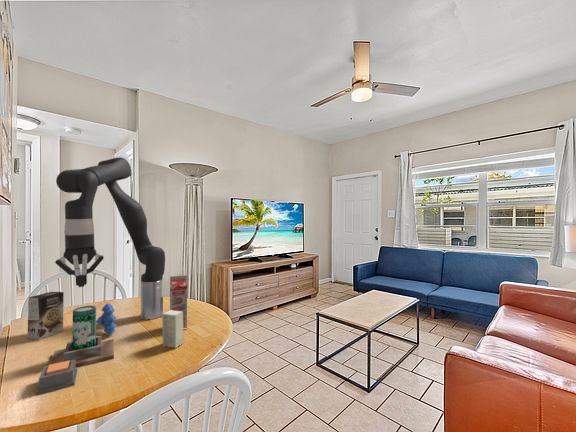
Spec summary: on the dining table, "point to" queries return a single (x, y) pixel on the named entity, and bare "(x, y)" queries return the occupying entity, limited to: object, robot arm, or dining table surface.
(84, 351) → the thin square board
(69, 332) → the dining table surface
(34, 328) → the coffee box
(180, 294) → the juice carton
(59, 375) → the button housing
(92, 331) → the can
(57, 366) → the button
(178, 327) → the skincare box
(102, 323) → the grapes
